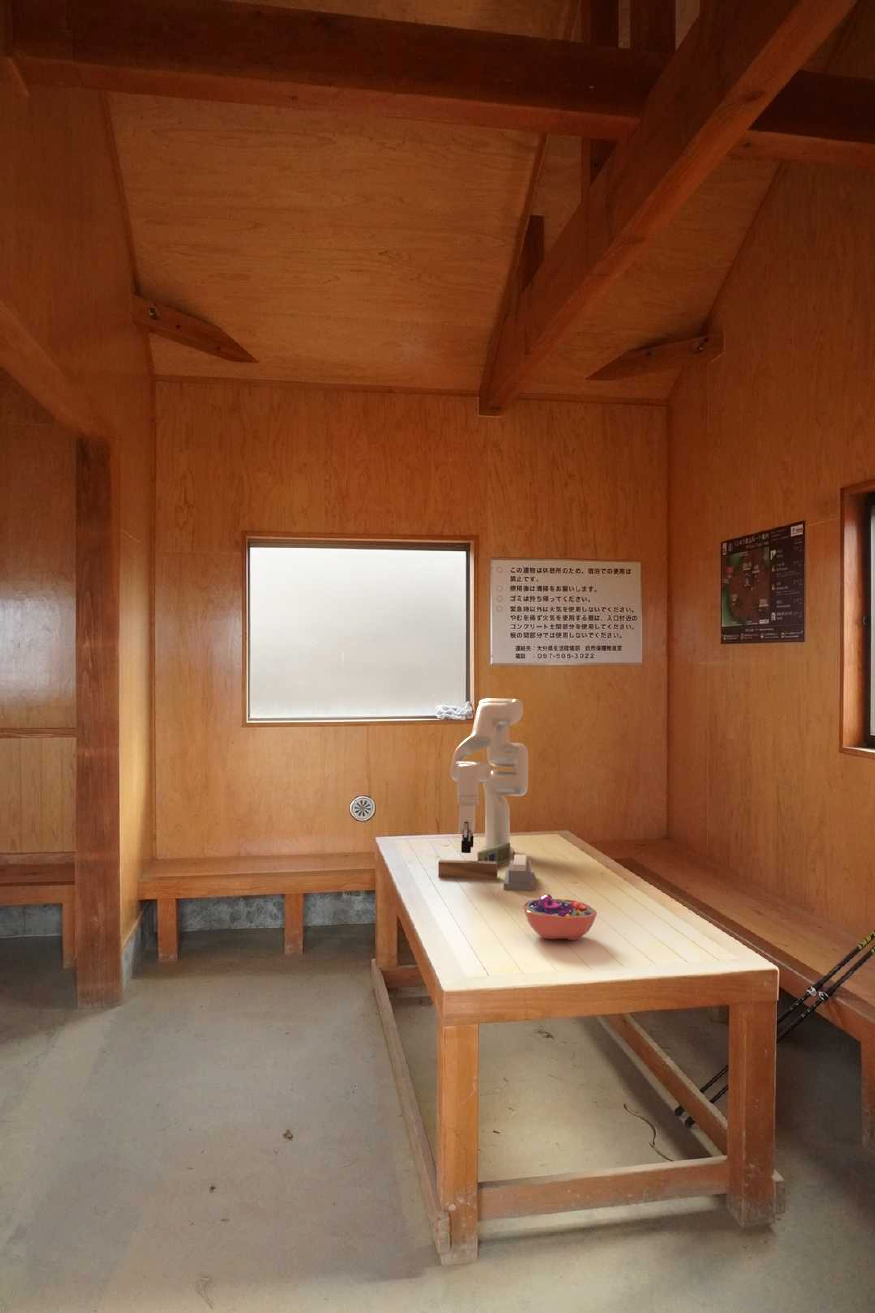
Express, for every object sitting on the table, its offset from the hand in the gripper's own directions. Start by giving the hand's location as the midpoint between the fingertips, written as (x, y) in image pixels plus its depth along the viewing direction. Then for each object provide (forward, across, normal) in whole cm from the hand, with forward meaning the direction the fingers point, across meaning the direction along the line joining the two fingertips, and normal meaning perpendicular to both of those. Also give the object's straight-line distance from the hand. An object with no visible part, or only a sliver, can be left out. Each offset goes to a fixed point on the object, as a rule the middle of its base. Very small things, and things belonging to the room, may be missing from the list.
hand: (467, 849), depth 284 cm
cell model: (+11, +58, +30) cm, 66 cm away
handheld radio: (+10, -17, +7) cm, 21 cm away
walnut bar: (+10, -1, 0) cm, 10 cm away
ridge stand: (+10, +5, +18) cm, 21 cm away
